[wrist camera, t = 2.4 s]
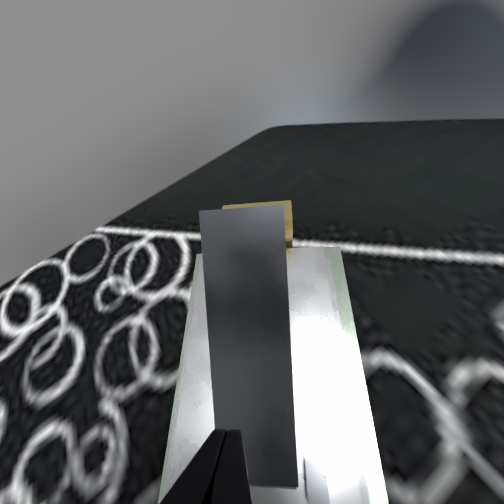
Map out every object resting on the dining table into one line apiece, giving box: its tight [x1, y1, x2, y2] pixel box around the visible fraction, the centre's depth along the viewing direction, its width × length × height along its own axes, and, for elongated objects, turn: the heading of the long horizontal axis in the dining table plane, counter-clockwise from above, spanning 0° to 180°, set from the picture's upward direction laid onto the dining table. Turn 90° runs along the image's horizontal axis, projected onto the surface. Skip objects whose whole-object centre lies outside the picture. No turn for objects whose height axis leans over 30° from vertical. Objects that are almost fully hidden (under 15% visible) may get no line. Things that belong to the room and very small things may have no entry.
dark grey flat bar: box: [199, 205, 299, 490], centre depth 12 cm, size 14×4×1 cm
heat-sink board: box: [158, 200, 388, 504], centre depth 18 cm, size 21×15×9 cm
